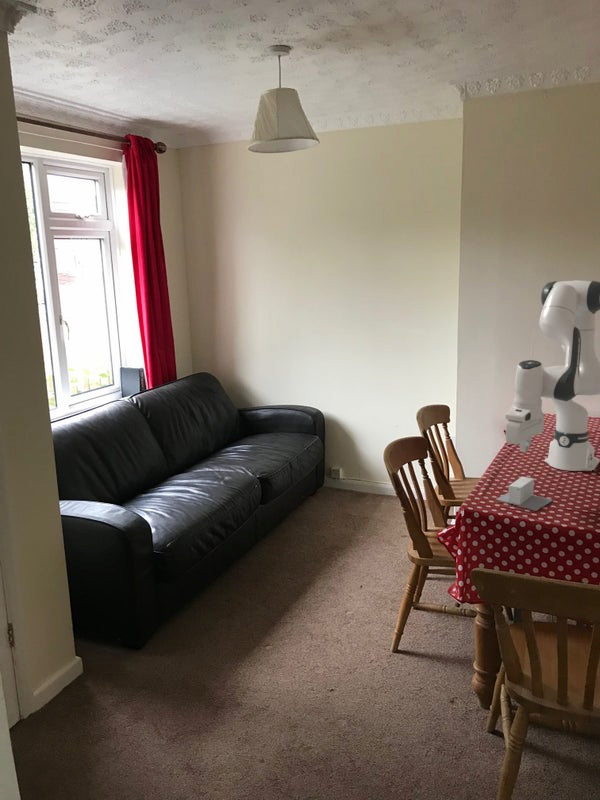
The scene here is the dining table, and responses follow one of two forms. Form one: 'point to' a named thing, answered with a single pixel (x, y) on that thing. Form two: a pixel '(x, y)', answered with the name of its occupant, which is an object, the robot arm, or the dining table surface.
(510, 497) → the skincare box
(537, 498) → the mat
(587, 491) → the dining table surface
